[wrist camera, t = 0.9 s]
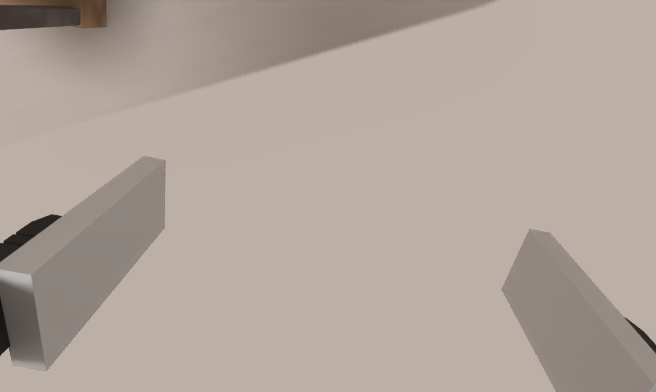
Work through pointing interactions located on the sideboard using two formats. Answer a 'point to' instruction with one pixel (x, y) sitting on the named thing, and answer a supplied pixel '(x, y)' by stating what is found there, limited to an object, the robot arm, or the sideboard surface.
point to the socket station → (52, 13)
